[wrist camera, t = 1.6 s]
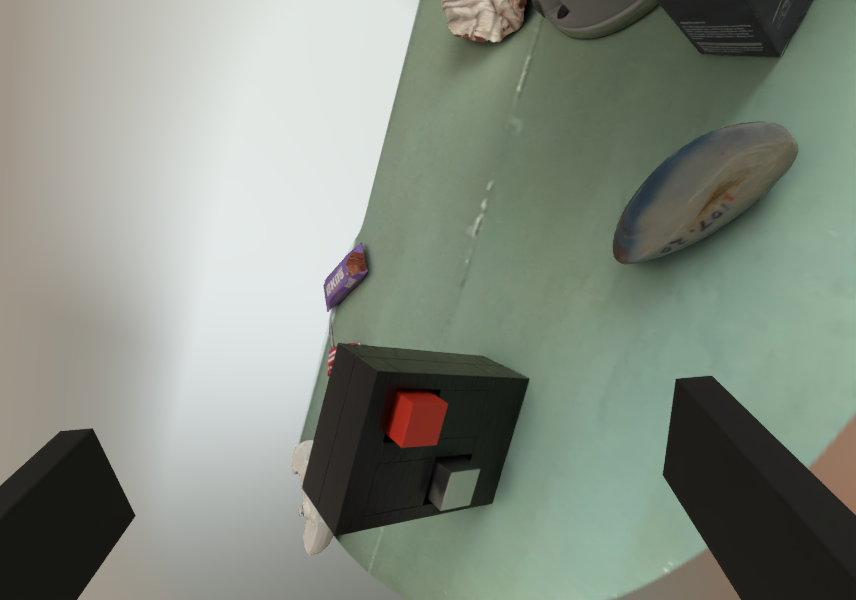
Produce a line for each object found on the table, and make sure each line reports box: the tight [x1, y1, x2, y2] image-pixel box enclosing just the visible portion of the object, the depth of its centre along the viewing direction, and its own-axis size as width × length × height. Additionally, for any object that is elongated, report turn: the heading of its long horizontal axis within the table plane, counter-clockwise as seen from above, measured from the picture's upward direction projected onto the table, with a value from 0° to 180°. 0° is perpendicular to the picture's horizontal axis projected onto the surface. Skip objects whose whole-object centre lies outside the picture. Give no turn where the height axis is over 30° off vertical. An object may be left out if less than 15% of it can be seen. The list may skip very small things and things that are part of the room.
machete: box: [329, 317, 334, 350], centre depth 67 cm, size 14×2×1 cm, turn 21°
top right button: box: [385, 388, 448, 448], centre depth 33 cm, size 3×3×3 cm
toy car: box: [328, 343, 361, 377], centre depth 62 cm, size 4×8×3 cm, turn 101°
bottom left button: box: [426, 455, 480, 511], centre depth 37 cm, size 3×3×3 cm
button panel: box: [302, 343, 529, 536], centre depth 38 cm, size 6×12×16 cm, turn 157°
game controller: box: [292, 440, 333, 555], centre depth 63 cm, size 14×4×10 cm
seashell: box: [613, 122, 798, 264], centre depth 30 cm, size 6×9×10 cm
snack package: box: [324, 243, 367, 311], centre depth 67 cm, size 12×2×5 cm
